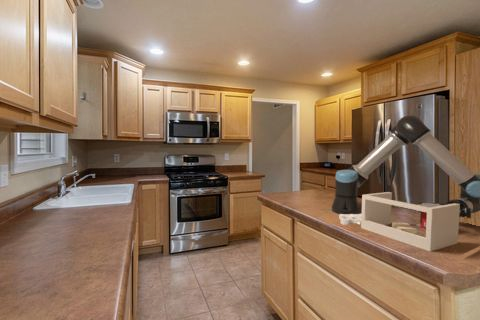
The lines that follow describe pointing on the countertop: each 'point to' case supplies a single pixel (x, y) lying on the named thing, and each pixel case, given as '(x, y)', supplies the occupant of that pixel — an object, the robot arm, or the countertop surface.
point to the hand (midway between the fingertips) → (433, 211)
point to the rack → (437, 232)
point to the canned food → (425, 214)
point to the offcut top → (404, 227)
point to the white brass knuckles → (350, 218)
